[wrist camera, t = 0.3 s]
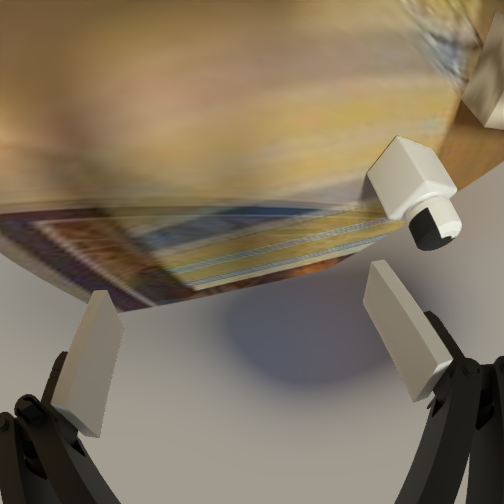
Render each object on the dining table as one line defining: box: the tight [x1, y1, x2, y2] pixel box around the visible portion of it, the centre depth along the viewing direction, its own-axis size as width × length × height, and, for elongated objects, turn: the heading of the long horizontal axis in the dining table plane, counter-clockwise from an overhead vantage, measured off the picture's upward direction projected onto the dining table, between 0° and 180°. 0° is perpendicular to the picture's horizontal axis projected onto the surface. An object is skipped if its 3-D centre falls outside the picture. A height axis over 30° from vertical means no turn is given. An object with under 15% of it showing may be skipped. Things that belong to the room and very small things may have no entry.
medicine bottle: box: [367, 136, 462, 251], centre depth 30 cm, size 7×7×12 cm
